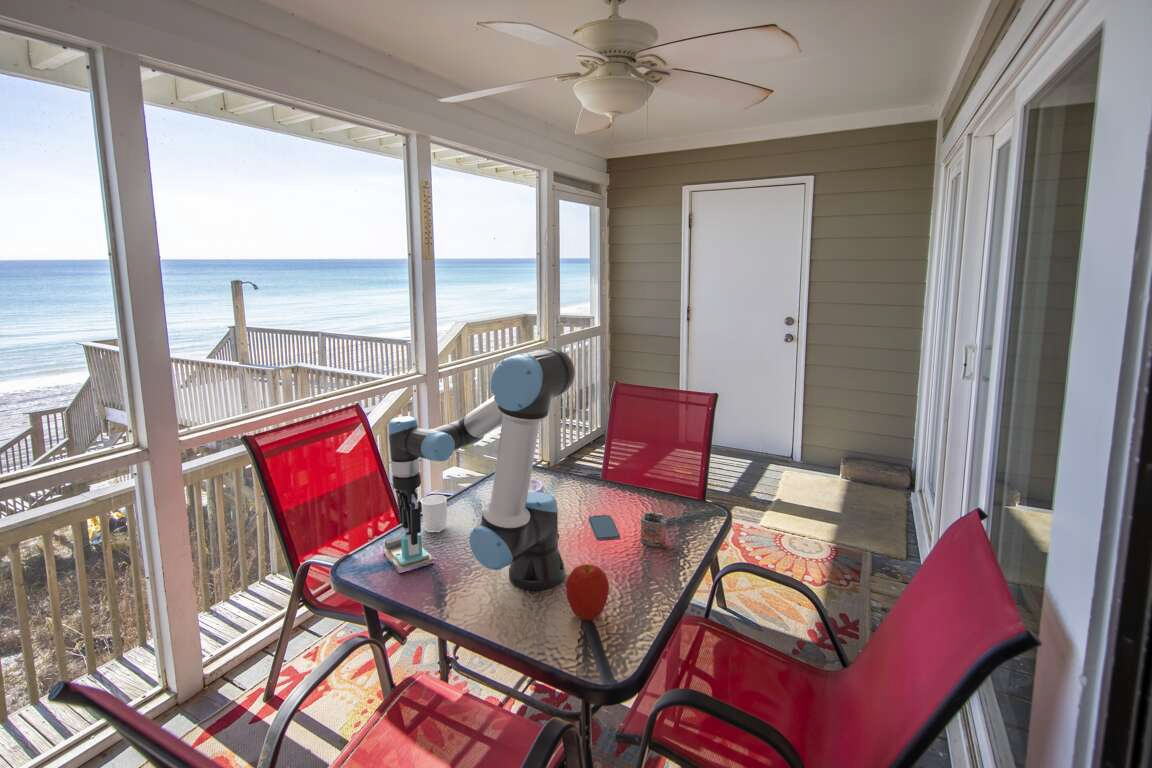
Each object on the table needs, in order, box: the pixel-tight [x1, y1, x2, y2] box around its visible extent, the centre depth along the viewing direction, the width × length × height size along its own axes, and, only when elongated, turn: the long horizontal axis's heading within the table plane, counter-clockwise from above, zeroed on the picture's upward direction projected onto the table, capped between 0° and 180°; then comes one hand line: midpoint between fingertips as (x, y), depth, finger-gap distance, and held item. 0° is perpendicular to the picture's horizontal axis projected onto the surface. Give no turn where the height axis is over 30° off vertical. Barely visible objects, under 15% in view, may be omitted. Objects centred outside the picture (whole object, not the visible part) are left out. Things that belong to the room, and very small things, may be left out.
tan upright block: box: [639, 510, 667, 548], centre depth 177 cm, size 8×3×10 cm, turn 62°
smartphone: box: [588, 514, 620, 541], centre depth 188 cm, size 8×2×15 cm
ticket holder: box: [382, 536, 435, 570], centre depth 169 cm, size 14×10×4 cm
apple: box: [565, 563, 610, 621], centre depth 140 cm, size 10×10×14 cm
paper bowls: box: [528, 478, 545, 493], centre depth 204 cm, size 15×15×8 cm
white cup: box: [420, 494, 448, 532], centre depth 188 cm, size 8×8×10 cm
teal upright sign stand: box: [395, 532, 430, 566], centre depth 166 cm, size 5×8×7 cm, turn 125°
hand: (412, 551), depth 166 cm, fingers closed on teal upright sign stand, 2 cm apart
